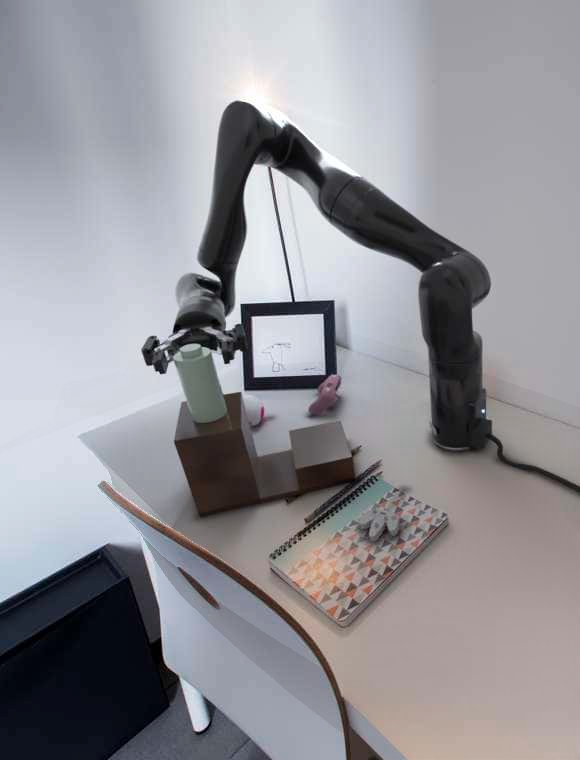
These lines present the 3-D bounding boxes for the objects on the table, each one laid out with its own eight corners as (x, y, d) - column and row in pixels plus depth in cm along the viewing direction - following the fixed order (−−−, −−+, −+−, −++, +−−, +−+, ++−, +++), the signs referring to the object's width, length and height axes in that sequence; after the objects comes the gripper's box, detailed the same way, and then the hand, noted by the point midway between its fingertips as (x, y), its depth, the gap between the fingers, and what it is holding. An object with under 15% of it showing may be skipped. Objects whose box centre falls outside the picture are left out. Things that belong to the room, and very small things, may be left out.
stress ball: (266, 443, 104) (281, 415, 102) (225, 432, 99) (240, 403, 97) (261, 423, 110) (275, 396, 108) (222, 412, 105) (236, 384, 103)
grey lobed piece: (358, 542, 75) (355, 528, 74) (368, 491, 85) (366, 478, 84) (397, 541, 75) (396, 527, 74) (404, 490, 85) (402, 477, 84)
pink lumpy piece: (327, 422, 106) (339, 395, 103) (306, 414, 106) (316, 386, 102) (337, 398, 115) (348, 372, 112) (317, 390, 114) (327, 364, 111)
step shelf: (344, 443, 97) (333, 375, 90) (356, 481, 87) (345, 408, 80) (204, 472, 90) (181, 401, 84) (199, 517, 81) (173, 441, 74)
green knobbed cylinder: (234, 409, 81) (216, 342, 76) (210, 425, 77) (190, 356, 72) (209, 403, 83) (190, 338, 77) (184, 419, 79) (162, 352, 73)
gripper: (146, 308, 84) (129, 346, 71) (240, 297, 88) (240, 330, 75) (160, 351, 88) (146, 395, 75) (250, 338, 92) (252, 377, 78)
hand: (193, 363), depth 75 cm, fingers open, 8 cm apart
